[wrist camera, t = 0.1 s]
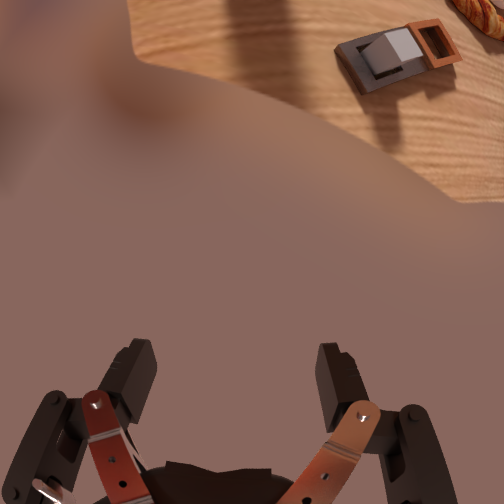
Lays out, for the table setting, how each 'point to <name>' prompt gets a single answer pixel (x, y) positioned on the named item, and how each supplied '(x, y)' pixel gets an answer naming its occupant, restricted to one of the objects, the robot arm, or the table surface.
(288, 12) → the table surface
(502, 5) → the flower in vase
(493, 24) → the croissant
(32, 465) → the robot arm
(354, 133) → the table surface
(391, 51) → the peg
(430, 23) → the socket
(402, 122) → the table surface
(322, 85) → the table surface
